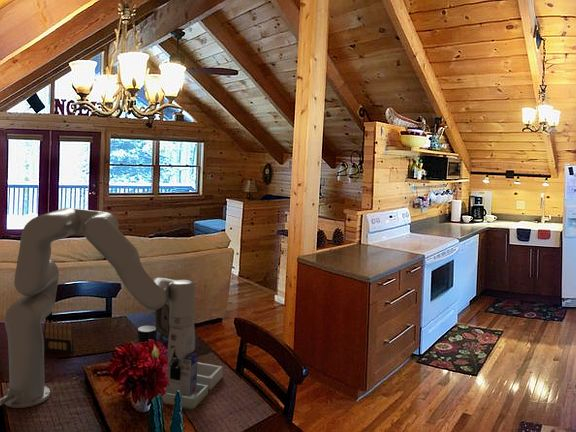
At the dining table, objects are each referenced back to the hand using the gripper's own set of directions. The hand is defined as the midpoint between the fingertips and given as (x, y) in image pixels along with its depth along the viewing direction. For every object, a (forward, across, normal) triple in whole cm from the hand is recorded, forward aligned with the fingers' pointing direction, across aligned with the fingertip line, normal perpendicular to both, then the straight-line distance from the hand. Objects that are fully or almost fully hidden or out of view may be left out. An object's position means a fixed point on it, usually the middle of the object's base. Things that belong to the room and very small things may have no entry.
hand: (180, 374), depth 154 cm
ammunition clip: (+8, +15, +59) cm, 61 cm away
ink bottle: (+8, +21, +25) cm, 34 cm away
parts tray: (+8, 0, 0) cm, 8 cm away
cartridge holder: (+8, +13, 0) cm, 15 cm away
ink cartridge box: (+6, 0, 0) cm, 6 cm away
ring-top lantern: (+8, +40, +25) cm, 48 cm away
